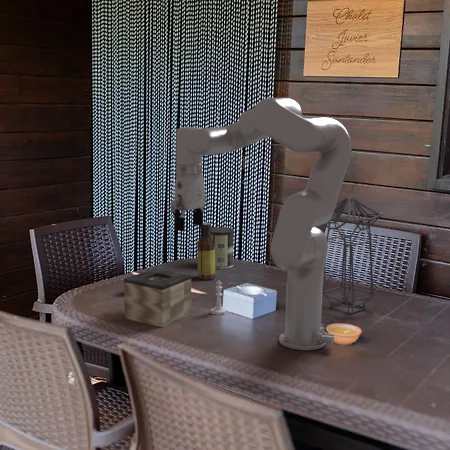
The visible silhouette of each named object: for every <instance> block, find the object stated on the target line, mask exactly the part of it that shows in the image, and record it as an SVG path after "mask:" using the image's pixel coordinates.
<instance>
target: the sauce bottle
mask: <svg viewBox="0 0 450 450" xmlns="http://www.w3.org/2000/svg"><path fill="white" fill-rule="evenodd" d="M198 227H199V238H198V240H197V242H196V247H197V248H196V249H197V250H196V251H197V252H196V253H197V254H196V255H197V256H196V257H197V258H196V259H197V261H196V262H197V275H198V276H197V277H198V279H200V280H204V281H205V280H206V281H208V280H213V279H215V278H216V277H215V276H216V269H215V246H214V243H213V240H212V237H211V229H210V228H212V223H211V222H206V221H205V222H204V221H203V225H198Z"/></svg>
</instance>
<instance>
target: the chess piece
mask: <svg viewBox="0 0 450 450" xmlns="http://www.w3.org/2000/svg"><path fill="white" fill-rule="evenodd" d="M215 284H216V286H215V290H216V293H215V295H214V296H216V304H215V306H214V307H213V308H211V309H210V314H212V315H214V314H216V315H215V316H222V315H221V314H224V315H226V314H227V313H226V311H227V309H226V308H224V307H223V306H222V298H221V297H222V296H223V293H222V290H223V286H221V285H223V282H221V280H219V279H218V280H217V282H216V283H215Z"/></svg>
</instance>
